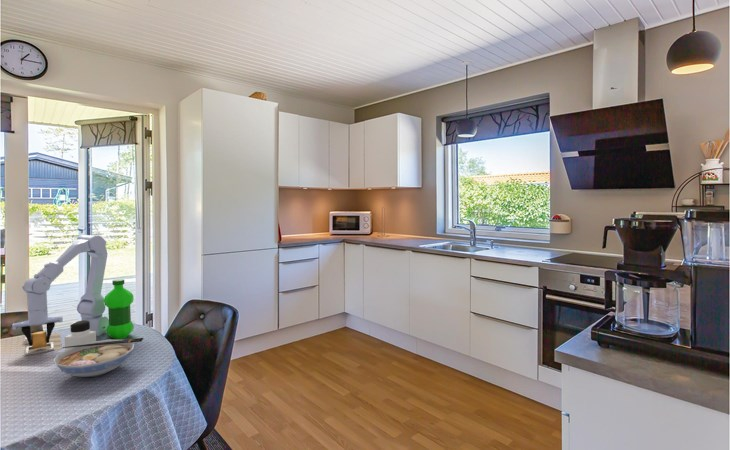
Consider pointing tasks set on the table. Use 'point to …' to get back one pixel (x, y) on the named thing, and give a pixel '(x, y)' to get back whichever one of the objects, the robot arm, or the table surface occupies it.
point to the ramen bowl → (94, 357)
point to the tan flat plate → (56, 344)
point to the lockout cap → (39, 339)
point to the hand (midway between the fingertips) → (39, 343)
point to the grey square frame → (39, 350)
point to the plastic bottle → (119, 310)
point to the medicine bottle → (80, 334)
